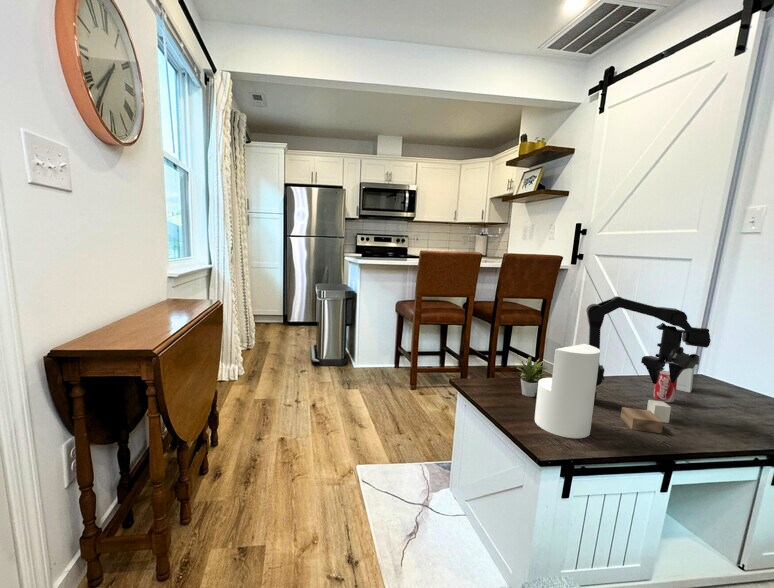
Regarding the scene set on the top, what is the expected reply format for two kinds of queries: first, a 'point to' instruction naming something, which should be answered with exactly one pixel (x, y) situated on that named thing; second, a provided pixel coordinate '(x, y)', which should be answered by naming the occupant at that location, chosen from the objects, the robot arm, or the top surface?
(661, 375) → the soda can
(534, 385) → the house plant
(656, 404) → the cream cube
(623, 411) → the tan square slab
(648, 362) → the robot arm
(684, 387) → the skincare box
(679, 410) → the top surface
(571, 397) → the white stepped curved block
